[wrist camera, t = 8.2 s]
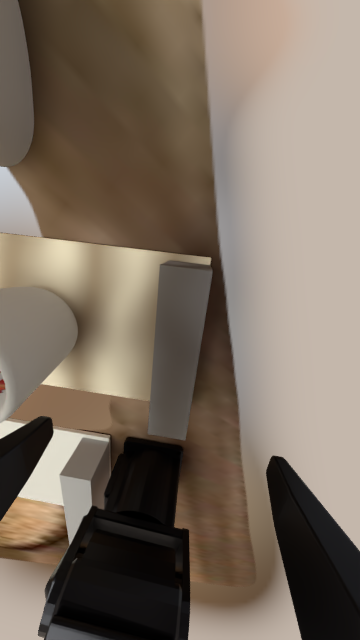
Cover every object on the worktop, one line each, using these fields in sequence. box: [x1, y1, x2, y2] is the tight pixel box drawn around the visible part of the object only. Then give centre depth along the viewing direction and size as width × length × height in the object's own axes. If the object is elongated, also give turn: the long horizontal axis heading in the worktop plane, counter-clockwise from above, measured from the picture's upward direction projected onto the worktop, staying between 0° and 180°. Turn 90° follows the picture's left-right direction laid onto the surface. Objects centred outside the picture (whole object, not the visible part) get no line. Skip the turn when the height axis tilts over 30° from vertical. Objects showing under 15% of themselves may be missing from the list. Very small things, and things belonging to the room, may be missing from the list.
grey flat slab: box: [0, 418, 111, 544], centre depth 24 cm, size 20×14×4 cm
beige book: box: [0, 233, 213, 440], centre depth 16 cm, size 20×14×4 cm
